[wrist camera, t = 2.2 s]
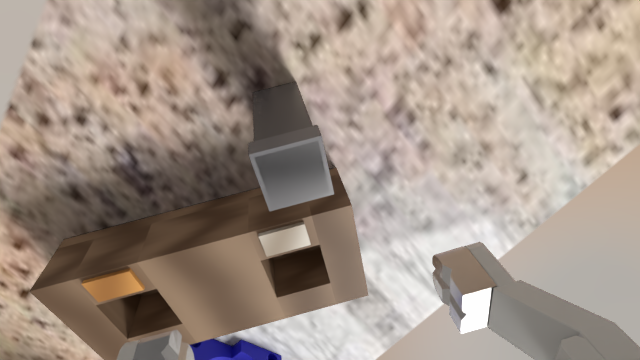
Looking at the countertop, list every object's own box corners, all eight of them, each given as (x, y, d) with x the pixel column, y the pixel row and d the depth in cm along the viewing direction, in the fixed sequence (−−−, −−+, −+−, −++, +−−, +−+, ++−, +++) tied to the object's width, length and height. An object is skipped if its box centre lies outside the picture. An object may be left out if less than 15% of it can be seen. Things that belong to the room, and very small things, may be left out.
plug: (298, 77, 23) (321, 135, 15) (309, 123, 25) (334, 194, 17) (249, 90, 23) (248, 154, 15) (263, 135, 25) (269, 211, 17)
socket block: (336, 167, 27) (352, 207, 23) (353, 252, 33) (369, 298, 28) (63, 239, 26) (26, 295, 22) (129, 314, 32) (110, 370, 28)
